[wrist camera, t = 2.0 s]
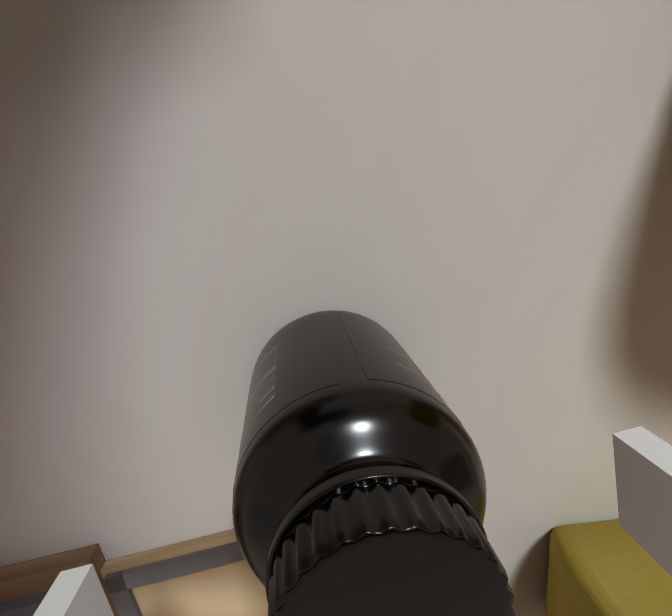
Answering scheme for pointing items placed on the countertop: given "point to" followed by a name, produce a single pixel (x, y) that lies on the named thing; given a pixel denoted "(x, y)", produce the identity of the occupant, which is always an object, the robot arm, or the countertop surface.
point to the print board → (186, 580)
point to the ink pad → (22, 605)
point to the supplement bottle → (360, 482)
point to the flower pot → (603, 574)
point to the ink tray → (49, 573)
